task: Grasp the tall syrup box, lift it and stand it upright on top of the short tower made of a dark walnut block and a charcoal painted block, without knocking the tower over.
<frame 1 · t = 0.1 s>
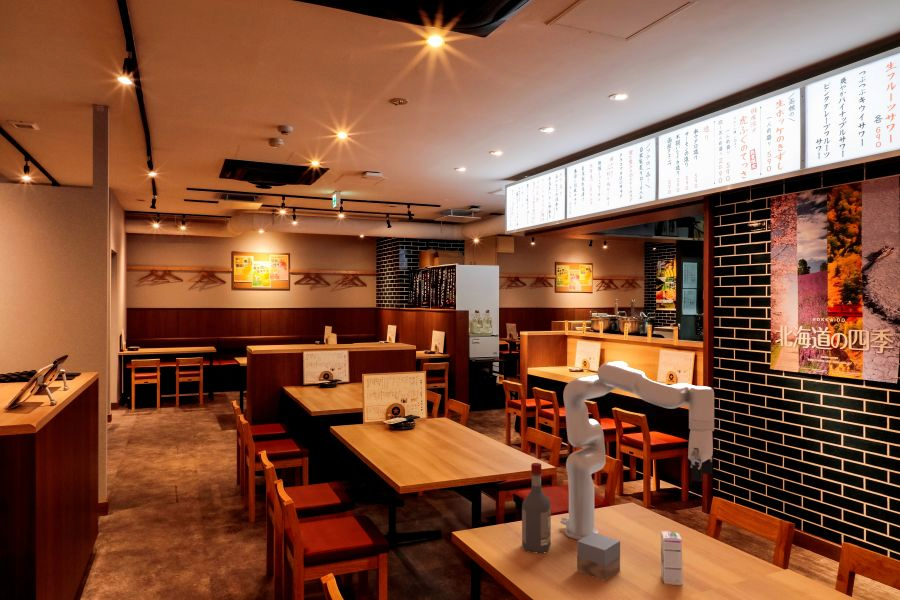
hand: (701, 477, 189), 31 cm above the table, tool pointing down, fingers open, 9 cm apart
walnut block: (598, 571, 190), on the table, touching charcoal block
charcoal block: (598, 556, 190), point 5 cm above the table, touching walnut block
syrup box: (671, 581, 184), on the table
liquor: (536, 548, 208), on the table
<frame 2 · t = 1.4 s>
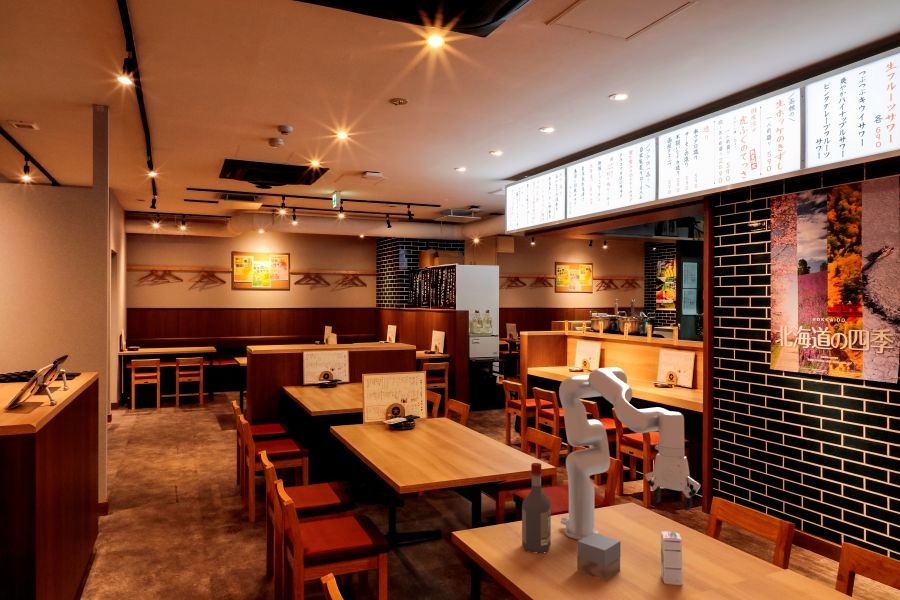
hand: (672, 505, 183), 24 cm above the table, tool pointing down, fingers open, 9 cm apart
nothing on the table moved.
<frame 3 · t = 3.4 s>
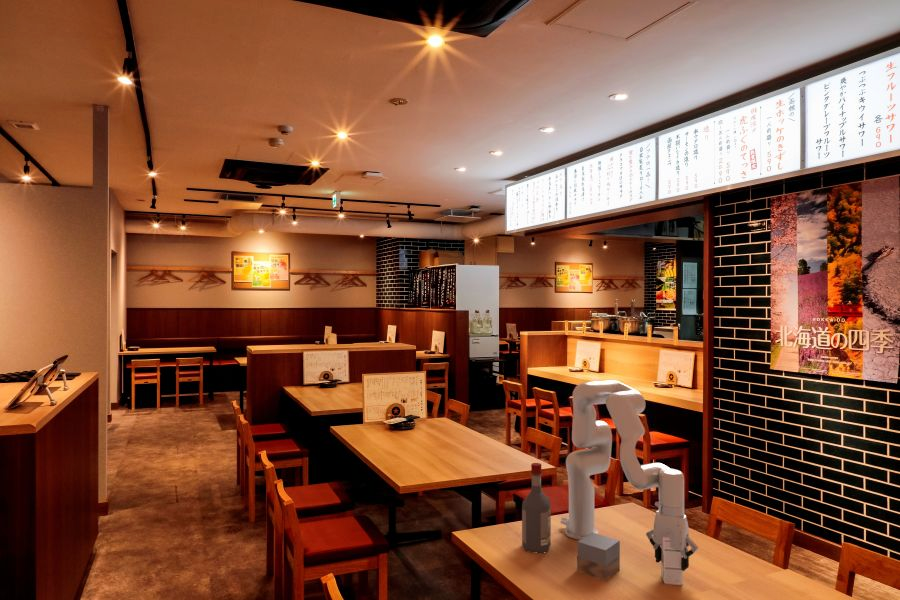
hand: (671, 564, 184), 5 cm above the table, tool pointing down, fingers closed on syrup box, 7 cm apart
walnut block: (598, 571, 191), on the table
charcoal block: (598, 556, 190), point 5 cm above the table
syrup box: (671, 581, 184), on the table, touching gripper
everything else where it was.
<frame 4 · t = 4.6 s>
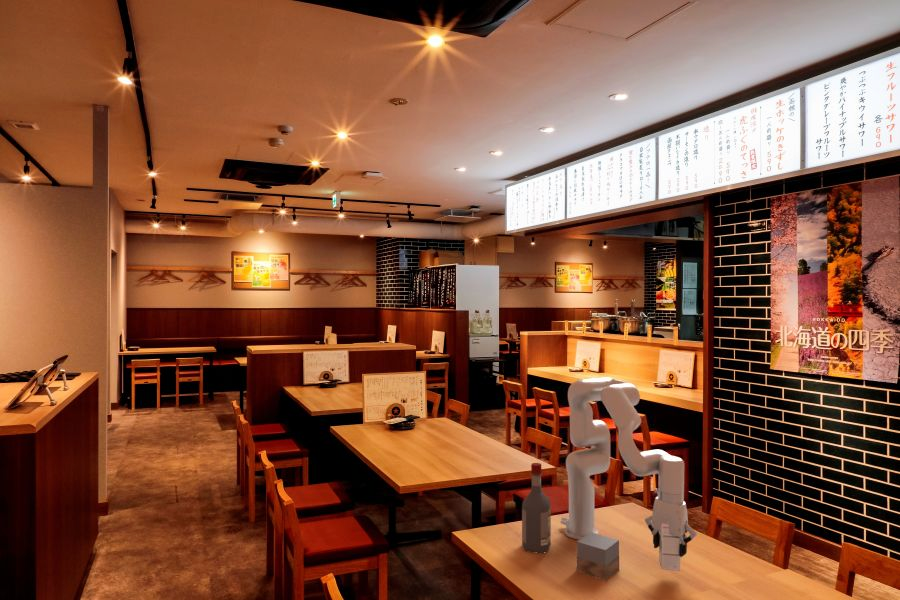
hand: (669, 550, 184), 9 cm above the table, tool pointing down, fingers closed on syrup box, 7 cm apart
walnut block: (597, 571, 191), on the table, touching charcoal block
charcoal block: (598, 556, 191), point 5 cm above the table, touching walnut block
syrup box: (669, 566, 184), point 4 cm above the table, touching gripper
everything else where it was.
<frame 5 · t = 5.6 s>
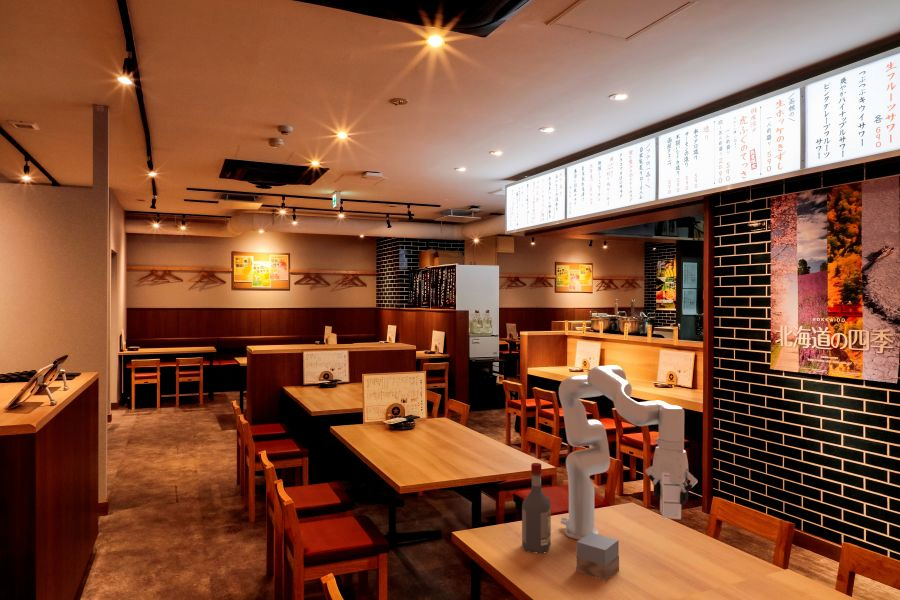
hand: (670, 499, 184), 25 cm above the table, tool pointing down, fingers closed on syrup box, 7 cm apart
syrup box: (670, 516, 184), point 20 cm above the table, touching gripper
everything else where it was.
when the fingers open (16 cm above the table, at t = 10.2 s): syrup box drops 2 cm, point 10 cm above the table.
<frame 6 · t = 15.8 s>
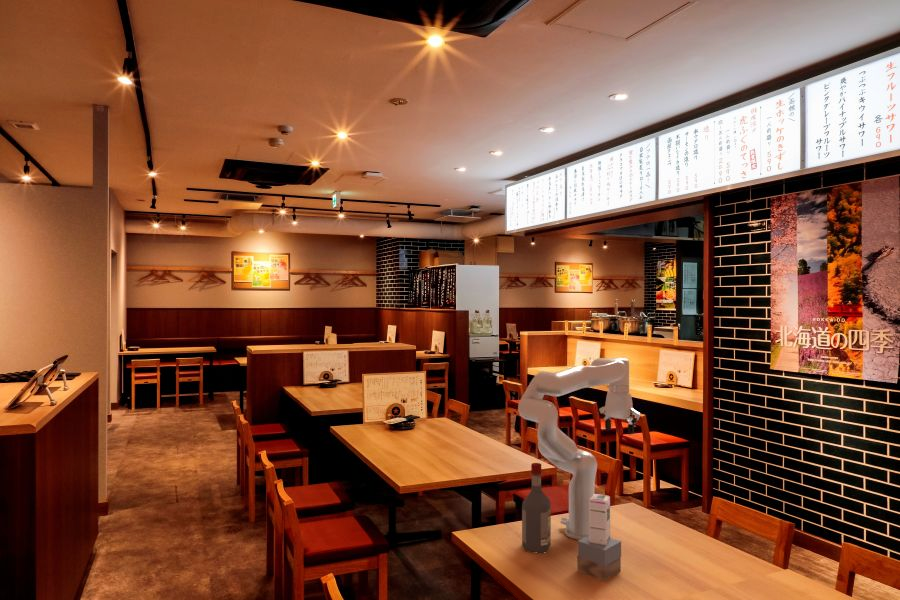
hand: (619, 432, 231), 36 cm above the table, tool pointing down, fingers open, 9 cm apart
syrup box: (599, 541, 190), point 10 cm above the table
at the end: syrup box 0.1 cm off-centre on the charcoal block, point 4.8 cm above the charcoal block's base; syrup box tilted 1°; charcoal block 0.1 cm off-centre on the walnut block, point 5.0 cm above the walnut block's base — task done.
